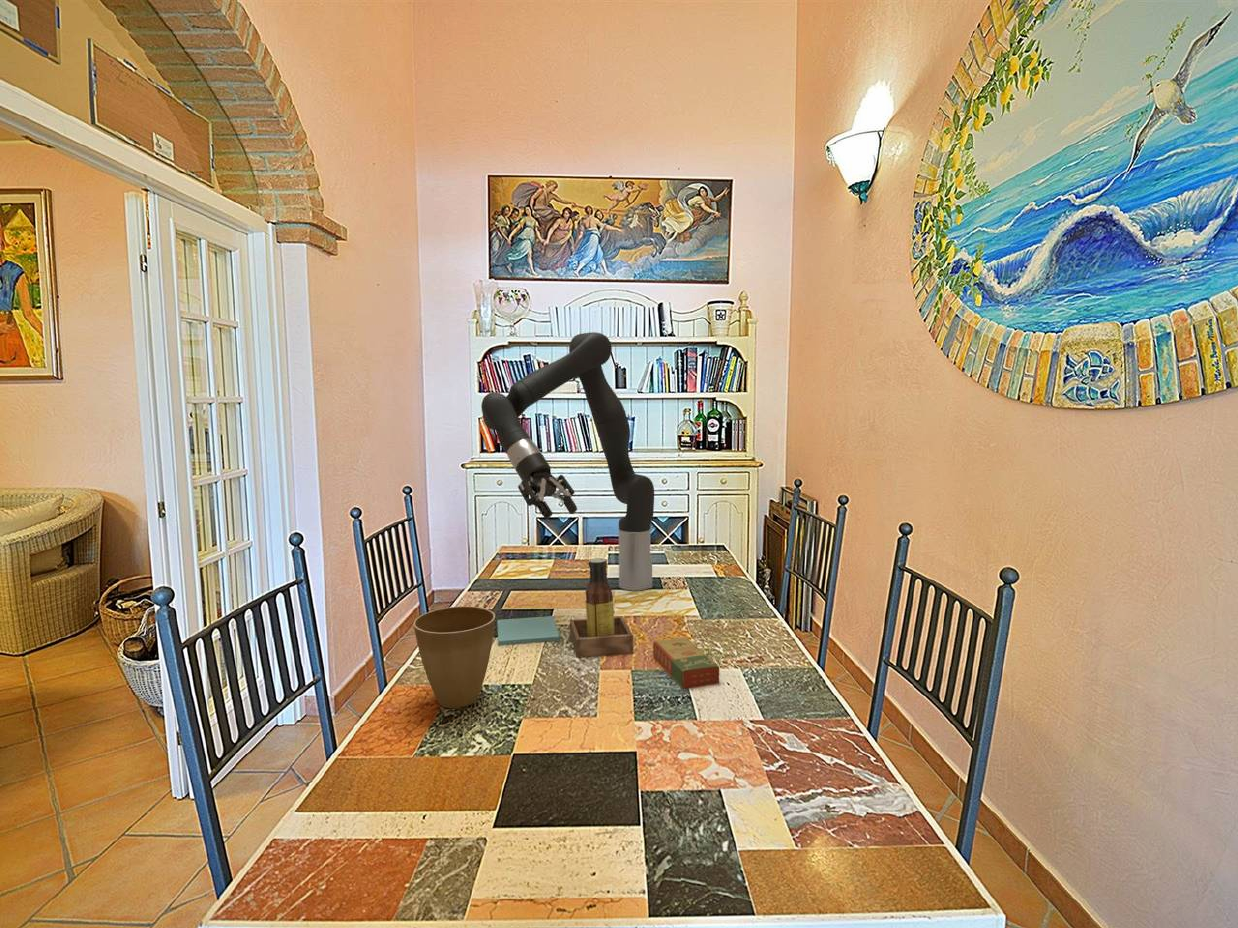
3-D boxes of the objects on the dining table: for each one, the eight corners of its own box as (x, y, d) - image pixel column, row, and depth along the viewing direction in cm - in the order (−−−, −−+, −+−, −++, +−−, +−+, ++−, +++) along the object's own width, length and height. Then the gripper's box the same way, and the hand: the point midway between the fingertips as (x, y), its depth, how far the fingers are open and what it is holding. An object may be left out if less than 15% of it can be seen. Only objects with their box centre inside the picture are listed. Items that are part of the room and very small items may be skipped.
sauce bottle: (618, 640, 156) (617, 557, 153) (609, 651, 150) (608, 564, 147) (592, 637, 158) (591, 555, 155) (582, 647, 152) (581, 562, 150)
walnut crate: (621, 632, 161) (621, 615, 161) (633, 652, 149) (633, 635, 148) (569, 636, 159) (569, 619, 158) (576, 657, 147) (576, 639, 146)
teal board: (553, 619, 170) (553, 615, 170) (559, 640, 156) (559, 636, 156) (497, 623, 167) (497, 619, 167) (498, 645, 153) (498, 641, 153)
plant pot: (512, 690, 131) (510, 611, 129) (464, 725, 118) (461, 637, 116) (451, 676, 137) (448, 600, 135) (399, 708, 124) (395, 625, 122)
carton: (687, 654, 149) (687, 635, 149) (720, 685, 134) (720, 664, 134) (652, 658, 146) (652, 640, 146) (682, 690, 131) (682, 669, 131)
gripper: (514, 453, 156) (549, 508, 150) (556, 449, 167) (590, 501, 162) (498, 473, 160) (532, 528, 154) (541, 468, 171) (573, 519, 165)
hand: (562, 514), depth 158 cm, fingers open, 8 cm apart
